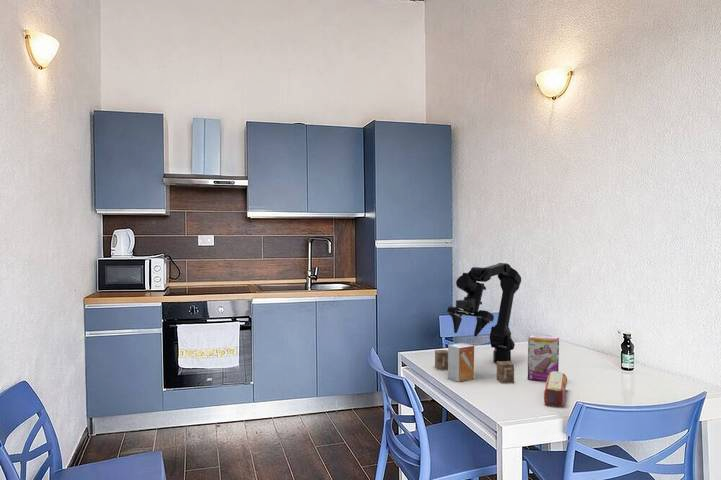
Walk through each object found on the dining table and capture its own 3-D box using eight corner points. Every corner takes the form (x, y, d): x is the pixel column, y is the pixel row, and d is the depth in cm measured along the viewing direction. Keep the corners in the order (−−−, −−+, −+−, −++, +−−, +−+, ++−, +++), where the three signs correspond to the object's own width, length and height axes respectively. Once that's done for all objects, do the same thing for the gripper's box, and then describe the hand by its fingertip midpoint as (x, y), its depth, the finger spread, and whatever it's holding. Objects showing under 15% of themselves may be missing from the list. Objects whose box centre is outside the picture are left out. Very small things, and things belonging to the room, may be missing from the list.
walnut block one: (446, 366, 222) (446, 349, 222) (449, 369, 217) (449, 352, 217) (434, 366, 222) (435, 350, 222) (437, 370, 217) (437, 353, 217)
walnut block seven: (509, 379, 204) (509, 361, 203) (514, 383, 198) (514, 364, 198) (496, 379, 203) (496, 361, 203) (501, 383, 198) (501, 364, 198)
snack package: (564, 408, 171) (564, 387, 170) (542, 406, 173) (542, 385, 173) (567, 390, 190) (567, 371, 190) (547, 388, 193) (547, 369, 193)
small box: (459, 382, 199) (459, 347, 199) (447, 378, 205) (447, 344, 204) (474, 379, 204) (474, 345, 203) (462, 375, 209) (462, 342, 209)
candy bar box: (527, 380, 202) (527, 337, 202) (527, 376, 207) (528, 334, 207) (558, 383, 199) (559, 339, 198) (558, 379, 203) (558, 336, 203)
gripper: (444, 288, 214) (434, 325, 210) (484, 292, 201) (474, 332, 197) (458, 297, 222) (449, 333, 218) (498, 301, 208) (489, 340, 204)
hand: (464, 334), depth 209 cm, fingers open, 9 cm apart
